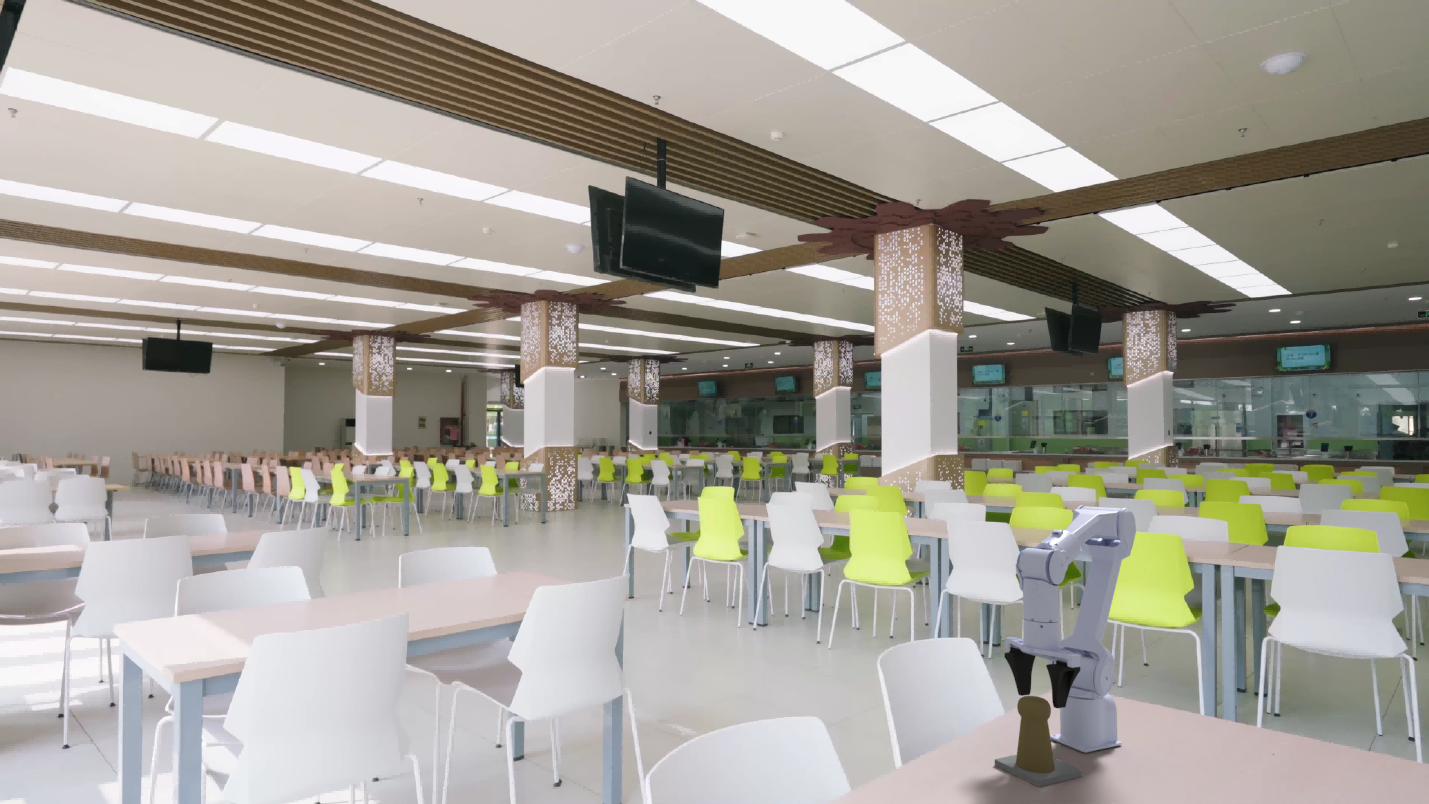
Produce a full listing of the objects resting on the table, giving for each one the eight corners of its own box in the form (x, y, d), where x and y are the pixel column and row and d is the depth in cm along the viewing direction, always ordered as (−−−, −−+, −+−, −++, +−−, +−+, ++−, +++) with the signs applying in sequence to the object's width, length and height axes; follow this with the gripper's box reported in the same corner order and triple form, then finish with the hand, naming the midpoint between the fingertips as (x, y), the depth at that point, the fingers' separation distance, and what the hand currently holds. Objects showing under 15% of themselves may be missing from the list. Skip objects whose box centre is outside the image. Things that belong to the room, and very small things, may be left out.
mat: (1036, 756, 140) (1036, 750, 140) (1082, 776, 131) (1082, 770, 132) (994, 765, 136) (994, 759, 136) (1038, 787, 128) (1038, 780, 128)
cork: (1057, 774, 130) (1055, 705, 130) (1017, 770, 131) (1015, 701, 132) (1052, 760, 136) (1051, 693, 136) (1014, 756, 137) (1013, 690, 138)
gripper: (992, 613, 143) (992, 691, 142) (1058, 629, 130) (1058, 715, 129) (1021, 611, 146) (1022, 687, 145) (1089, 626, 133) (1090, 711, 132)
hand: (1041, 700), depth 138 cm, fingers open, 7 cm apart
